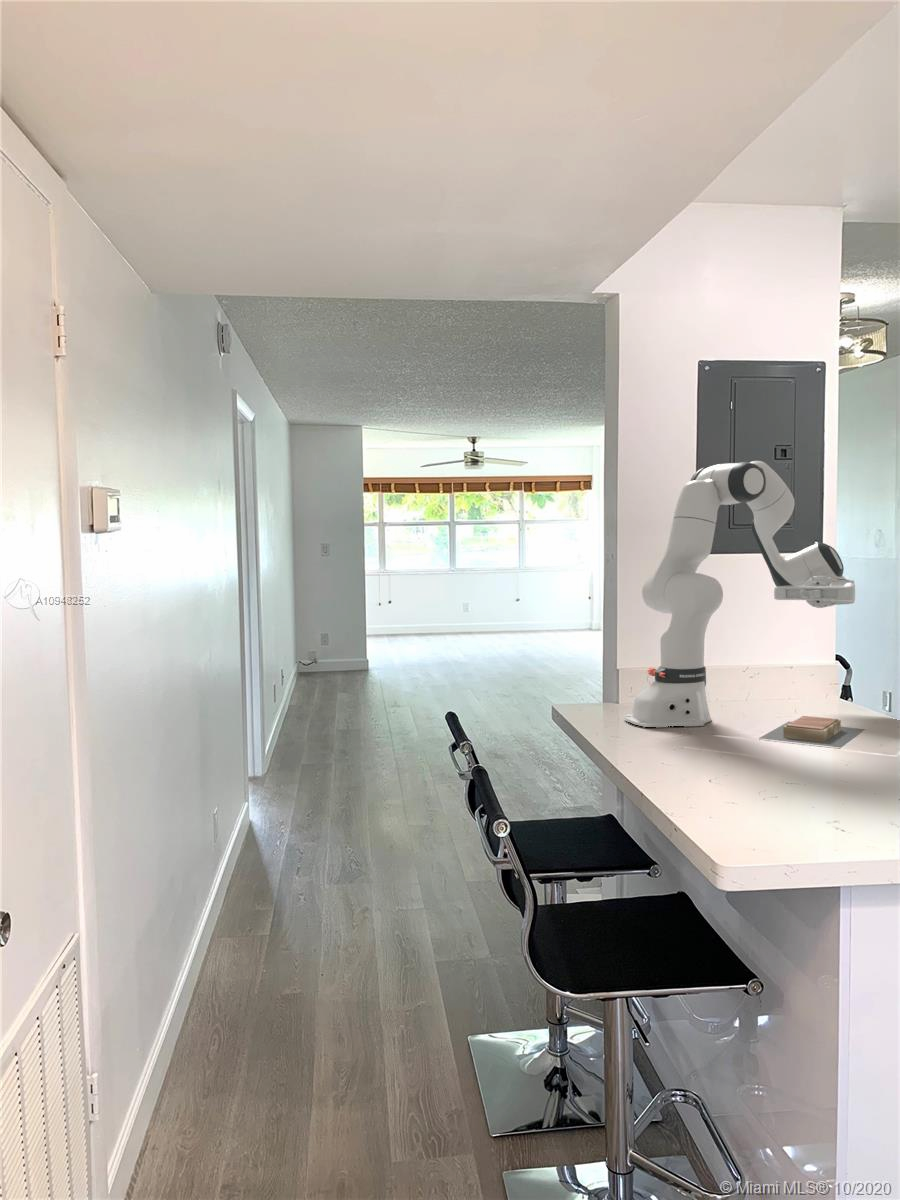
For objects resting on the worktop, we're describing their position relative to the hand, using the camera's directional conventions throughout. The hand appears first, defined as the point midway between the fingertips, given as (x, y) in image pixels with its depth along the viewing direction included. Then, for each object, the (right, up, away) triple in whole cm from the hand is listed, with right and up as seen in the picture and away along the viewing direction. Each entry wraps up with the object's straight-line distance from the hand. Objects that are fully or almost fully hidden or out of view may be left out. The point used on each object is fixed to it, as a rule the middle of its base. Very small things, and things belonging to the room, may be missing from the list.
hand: (806, 594), depth 222 cm
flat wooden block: (-4, -31, -17) cm, 36 cm away
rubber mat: (-8, -34, -22) cm, 41 cm away
